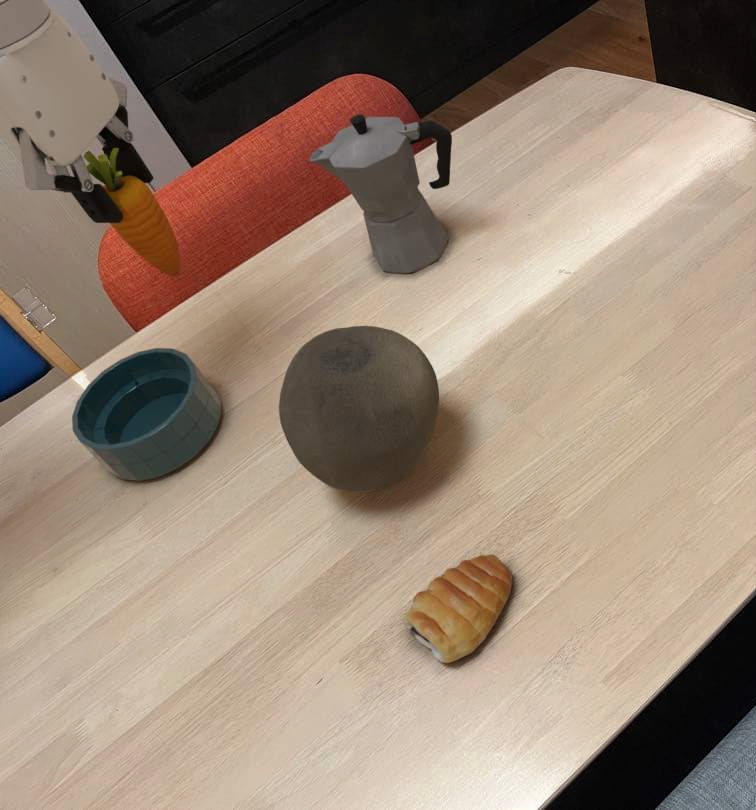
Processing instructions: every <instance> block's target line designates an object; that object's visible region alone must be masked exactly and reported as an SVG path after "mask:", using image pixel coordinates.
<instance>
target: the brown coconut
mask: <svg viewBox="0 0 756 810" xmlns="http://www.w3.org/2000/svg"><path fill="white" fill-rule="evenodd" d="M436 374H437V373H436V372H435V369H434V367H433V365H432V362H431V361H430V360H429V357H427V355H426V354H425V353H424V352H423V350H422V349H421V348H420V347H419V346H418V344H416V343H415V342H414V341H412V340H410V339H409V338H407V337H406V336H405V335H403V334H401V333H399V332H397V331H395V330H392V329H387V328H383V327H379V326H373V325H353V326H348V327H347V326H346V327H339V328H333V329H330V330H325V331H324V332H322V333H320V334H317V335H315V336H314V337H312V338H311V339H310V340H308V341H306V343H304V344H303V345H302V346H301V347H300V348H299V349H298V351H297V352H296V353H295V354H294V356H293V358H292V359H291V361H290V363H289V365H288V367H287V369H286V371H285V375H284V378H283V381H282V386H281V389H280V393H279V402H278V415H279V421H280V425H281V429H282V432H283V434H284V436H285V439H286V441H287V444H288V445H289V447H290V449H291V451H292V453H293V455H294V457H295V458H296V460H297V461H298V462H299V464H300V465H301V466H302V467H303V468H304V469H305V470H306V471H307V472H309V474H311V475H312V476H313V477H315V478H316V479H317V480H318V481H320V482H321V483H323V484H324V485H326V486H328V487H330V488H333V489H335V490H338V491H342V492H352V493H368V492H373V491H378V490H382V489H385V488H388V487H390V486H392V485H394V484H396V483H398V482H399V481H401V480H402V479H404V478H405V477H406V476H407V475H409V474H410V473H411V472H412V471H413V470H414V469H415V468H416V467H417V466H418V464H419V462H420V461H421V459H422V457H423V455H424V453H425V451H426V450H427V449H428V446H429V444H430V442H431V440H432V438H433V435H434V431H435V428H436V425H437V421H438V416H439V410H440V389H439V383H438V377H437V375H436Z"/></svg>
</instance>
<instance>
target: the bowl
mask: <svg viewBox="0 0 756 810" xmlns="http://www.w3.org/2000/svg"><path fill="white" fill-rule="evenodd" d="M220 400H221V399H220V396H219V394H218V392H217V391H216V390H215V389H214V388H213V386H212V385H211V383H210V382H209V381H208V380H207V378H206V377H205V375H204V374H203V373H202V372H201V370H200V369H199V367H198V366H197V365H196V364H195V362H194V361H193V360H192V358H191V357H190V356H189V355H188V354H187V353H185V352H183V351H180V350H177V349H176V348H171V347H170V348H168V347H167V348H166V347H155V348H150V349H146V350H145V349H144V350H142V351H137V352H134V353H133V354H130V355H128V356H126V357H123V358H121V359H120V360H117V361H116V362H115V363H113V364H111V365H110V366H108V367H107V368H105V369H104V370H102V371H101V372H100V373H99V374H98V375H97V376H96V377H95V378H94V379H93V380H92V381H91V382H90V383H89V384H88V385H87V386H86V387H85V389H84V391H83V392H82V393H81V395H80V396H79V398H78V399H77V401H76V403H75V407H74V409H73V413H72V416H71V423H72V427H71V428H72V432H73V434H74V435H75V437H76V439H77V440H78V442H79V443H81V445H82V446H83V447H84V448H85V449H86V451H88V452H89V453H90V454H91V455H92V456H93V457H94V458H95V459H96V460H97V461H98V462H99V463H100V465H102V466H103V467H104V468H105V469H106V470H107V471H108V472H109V473H110V474H112V475H114V476H116V477H118V478H119V479H122V480H127V481H128V480H129V481H137V482H138V481H139V482H141V481H145V480H151V479H156V478H160V477H161V476H164V475H166V474H169V473H171V472H173V471H176V470H178V469H179V468H181V467H182V466H184V465H185V464H186V463H187V462H189V461H190V460H192V459H193V458H194V457H196V456H197V455H198V454H199V453H200V452H201V450H202V449H204V447H205V446H207V444H208V443H209V442H210V441H211V439H212V437H213V435H214V433H215V432H216V430H217V428H218V426H219V423H220V419H221V412H222V404H221V401H220Z"/></svg>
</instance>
